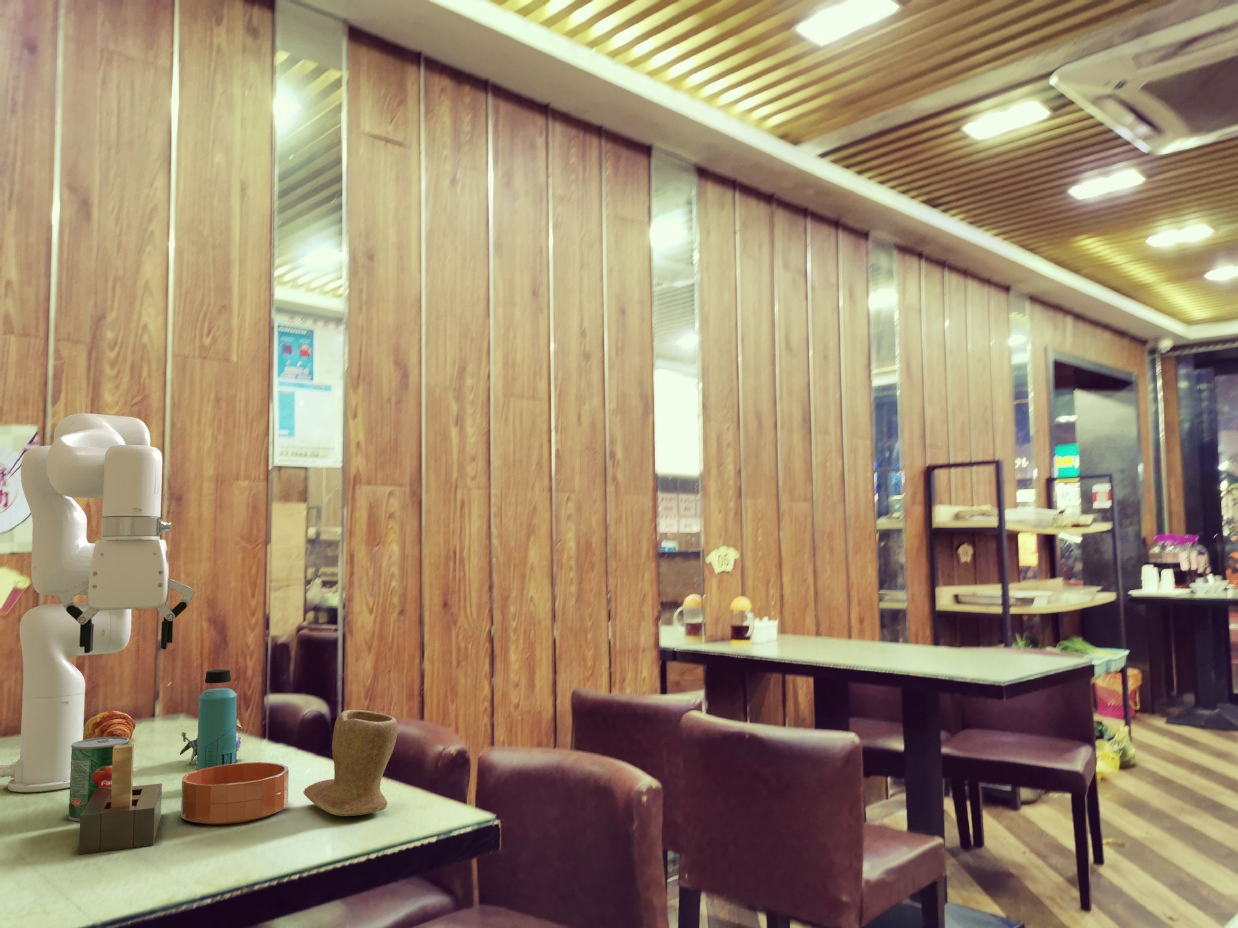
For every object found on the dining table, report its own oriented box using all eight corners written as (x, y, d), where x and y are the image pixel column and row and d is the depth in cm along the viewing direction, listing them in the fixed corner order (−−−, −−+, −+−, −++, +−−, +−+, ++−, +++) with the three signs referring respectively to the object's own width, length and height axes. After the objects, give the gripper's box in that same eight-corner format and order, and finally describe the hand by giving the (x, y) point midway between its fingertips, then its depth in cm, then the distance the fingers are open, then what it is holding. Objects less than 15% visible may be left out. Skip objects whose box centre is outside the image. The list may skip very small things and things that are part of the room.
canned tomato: (115, 819, 140) (118, 745, 141) (59, 822, 139) (62, 747, 140) (133, 805, 148) (136, 735, 149) (80, 808, 147) (83, 737, 148)
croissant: (82, 751, 208) (64, 721, 206) (127, 725, 214) (110, 695, 212) (105, 764, 192) (86, 732, 190) (152, 735, 198) (134, 703, 196)
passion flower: (232, 789, 179) (247, 743, 175) (171, 786, 174) (185, 738, 170) (234, 747, 189) (249, 702, 184) (177, 742, 184) (190, 696, 180)
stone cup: (407, 813, 141) (408, 712, 142) (329, 826, 134) (331, 721, 136) (374, 793, 154) (375, 701, 155) (301, 804, 147) (303, 708, 148)
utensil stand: (78, 854, 124) (79, 815, 124) (93, 824, 138) (95, 789, 138) (153, 845, 127) (154, 807, 128) (160, 816, 141) (162, 783, 142)
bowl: (178, 832, 133) (179, 789, 134) (183, 806, 147) (184, 767, 147) (290, 819, 139) (291, 778, 139) (284, 795, 153) (285, 758, 153)
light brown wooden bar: (109, 844, 128) (112, 748, 129) (111, 839, 130) (114, 745, 131) (129, 842, 129) (132, 746, 130) (130, 837, 131) (133, 743, 132)
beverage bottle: (221, 792, 155) (224, 671, 157) (186, 791, 157) (189, 671, 159) (244, 783, 162) (246, 667, 164) (210, 782, 163) (213, 667, 165)
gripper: (197, 531, 141) (194, 645, 139) (66, 531, 134) (61, 651, 132) (195, 529, 134) (192, 649, 132) (57, 529, 127) (52, 656, 125)
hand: (126, 650), depth 132 cm, fingers open, 9 cm apart
